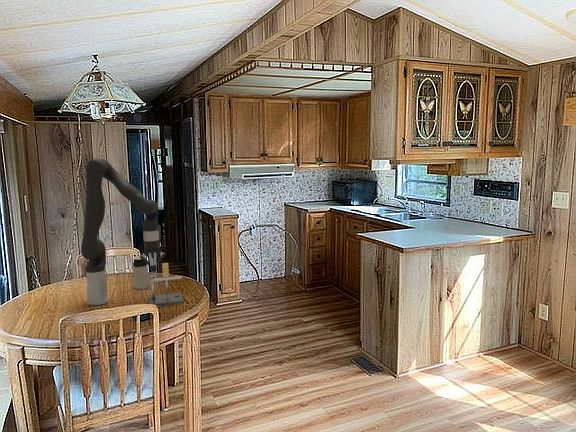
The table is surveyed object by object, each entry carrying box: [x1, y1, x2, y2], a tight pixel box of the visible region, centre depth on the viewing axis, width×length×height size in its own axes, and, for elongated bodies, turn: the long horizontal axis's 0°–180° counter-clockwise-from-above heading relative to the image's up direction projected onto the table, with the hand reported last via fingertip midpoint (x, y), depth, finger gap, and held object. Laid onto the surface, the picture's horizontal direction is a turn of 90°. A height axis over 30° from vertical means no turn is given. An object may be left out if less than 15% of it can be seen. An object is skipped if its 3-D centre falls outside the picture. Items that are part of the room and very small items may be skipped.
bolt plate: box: [147, 274, 184, 307], centre depth 232 cm, size 18×14×14 cm
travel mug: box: [132, 255, 150, 290], centre depth 257 cm, size 8×8×18 cm
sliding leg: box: [161, 262, 170, 296], centre depth 232 cm, size 3×4×18 cm
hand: (154, 272), depth 230 cm, fingers closed
